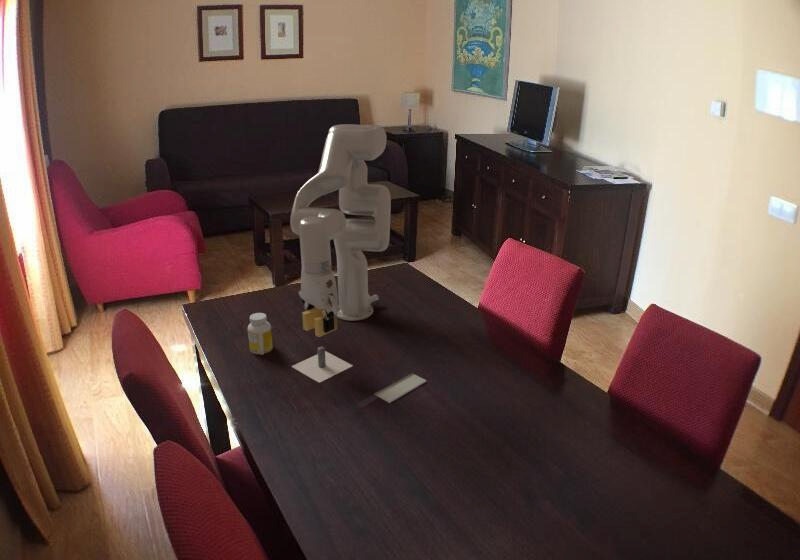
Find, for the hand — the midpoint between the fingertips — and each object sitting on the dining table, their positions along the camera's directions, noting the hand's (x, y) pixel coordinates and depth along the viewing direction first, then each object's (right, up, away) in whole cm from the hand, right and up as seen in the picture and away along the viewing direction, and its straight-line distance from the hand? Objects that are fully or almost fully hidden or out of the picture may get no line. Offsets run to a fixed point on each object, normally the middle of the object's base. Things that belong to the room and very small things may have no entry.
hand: (320, 325), depth 172 cm
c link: (0, -1, 0) cm, 1 cm away
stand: (0, -12, +5) cm, 13 cm away
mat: (+18, -15, -1) cm, 24 cm away
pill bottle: (-19, -9, +14) cm, 25 cm away
